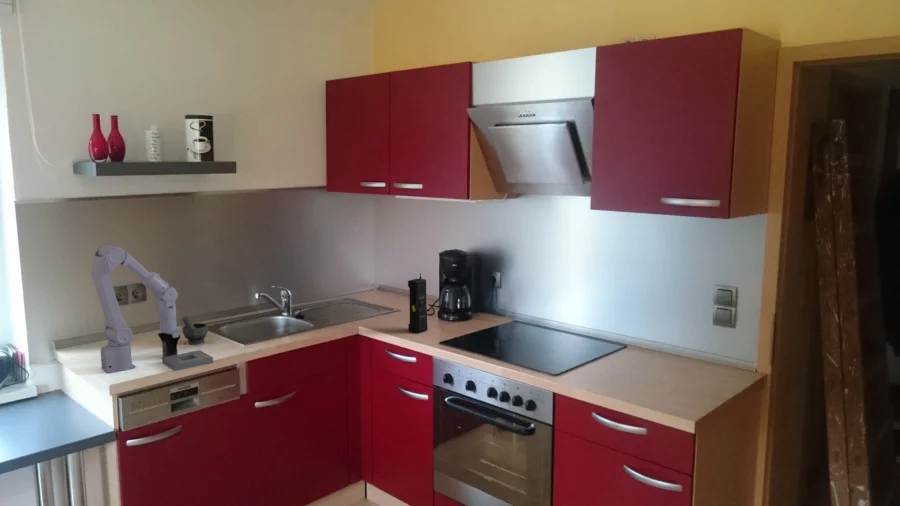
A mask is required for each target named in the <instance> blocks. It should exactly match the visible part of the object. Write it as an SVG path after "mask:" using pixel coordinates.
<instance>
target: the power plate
mask: <svg viewBox="0 0 900 506" xmlns="http://www.w3.org/2000/svg"><path fill="white" fill-rule="evenodd" d="M177 354H178V353H177ZM161 363H162V364H164V365H165V366H167V367H168V368H170V369H171V370H173V371H178V370H185V369H189V368H195V367H198V366H203V365H206V364H207V365H208V364H212V363H214V357H213V356H211V355H210V354H208V353H206V352H204V351H202V350H200V349H199V350H198V349H197V350H194V351H189V352H184V353H179V354H178V355H173V356H167V357H164V356H163V357H162V358H161Z"/></svg>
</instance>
